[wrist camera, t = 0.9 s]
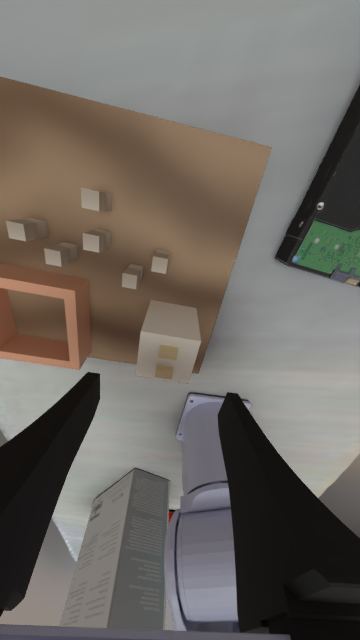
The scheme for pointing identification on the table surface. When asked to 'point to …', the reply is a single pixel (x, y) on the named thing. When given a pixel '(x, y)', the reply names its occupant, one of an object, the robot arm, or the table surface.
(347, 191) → the disk drive
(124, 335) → the board
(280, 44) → the table surface
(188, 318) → the connector plug
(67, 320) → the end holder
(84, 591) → the hard drive box
